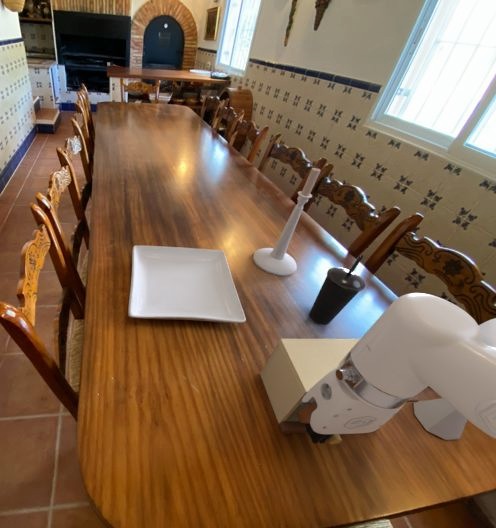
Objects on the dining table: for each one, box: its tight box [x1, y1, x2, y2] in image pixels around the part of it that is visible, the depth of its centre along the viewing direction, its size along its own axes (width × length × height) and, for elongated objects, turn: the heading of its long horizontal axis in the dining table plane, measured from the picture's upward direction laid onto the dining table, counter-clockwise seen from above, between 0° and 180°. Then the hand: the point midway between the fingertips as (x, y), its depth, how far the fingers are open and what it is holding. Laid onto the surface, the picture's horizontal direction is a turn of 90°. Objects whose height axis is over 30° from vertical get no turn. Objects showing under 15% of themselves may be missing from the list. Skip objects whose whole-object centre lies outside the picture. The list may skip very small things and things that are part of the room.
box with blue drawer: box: [259, 338, 420, 434], centre depth 54 cm, size 12×18×12 cm, turn 93°
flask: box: [412, 397, 468, 441], centre depth 53 cm, size 7×7×10 cm
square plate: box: [127, 245, 247, 324], centre depth 78 cm, size 27×27×4 cm
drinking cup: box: [308, 254, 366, 326], centre depth 68 cm, size 8×8×20 cm
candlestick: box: [252, 167, 321, 277], centre depth 82 cm, size 13×13×30 cm
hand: (313, 433), depth 50 cm, fingers closed
